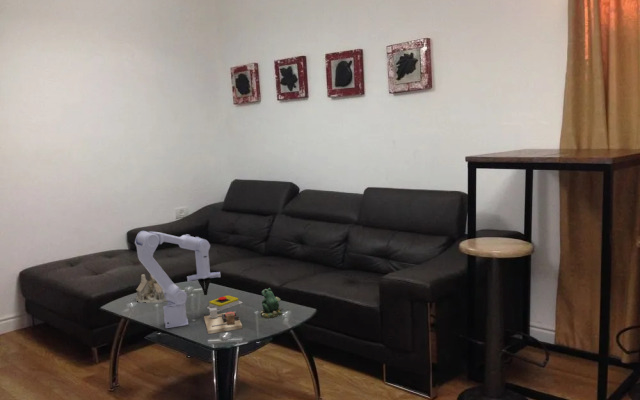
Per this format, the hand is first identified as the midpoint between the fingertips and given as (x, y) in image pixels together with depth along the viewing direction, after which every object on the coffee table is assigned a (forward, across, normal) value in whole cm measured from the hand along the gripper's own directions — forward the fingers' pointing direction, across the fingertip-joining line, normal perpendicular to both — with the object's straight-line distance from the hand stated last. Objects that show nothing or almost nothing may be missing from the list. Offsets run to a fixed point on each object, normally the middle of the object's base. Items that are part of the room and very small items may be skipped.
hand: (205, 294), depth 245 cm
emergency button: (+10, +9, +9) cm, 17 cm away
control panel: (+9, +5, -15) cm, 18 cm away
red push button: (+7, +9, -14) cm, 18 cm away
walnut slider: (+8, +8, -20) cm, 23 cm away
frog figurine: (+10, +27, -12) cm, 31 cm away
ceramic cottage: (+10, -23, +36) cm, 44 cm away
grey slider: (+8, +2, -9) cm, 12 cm away
